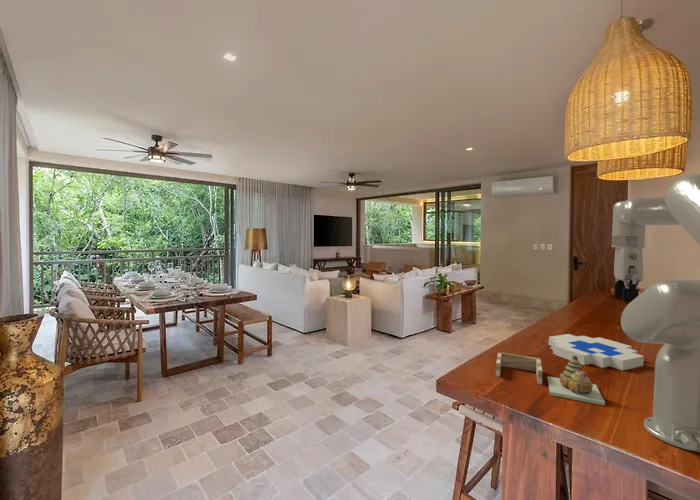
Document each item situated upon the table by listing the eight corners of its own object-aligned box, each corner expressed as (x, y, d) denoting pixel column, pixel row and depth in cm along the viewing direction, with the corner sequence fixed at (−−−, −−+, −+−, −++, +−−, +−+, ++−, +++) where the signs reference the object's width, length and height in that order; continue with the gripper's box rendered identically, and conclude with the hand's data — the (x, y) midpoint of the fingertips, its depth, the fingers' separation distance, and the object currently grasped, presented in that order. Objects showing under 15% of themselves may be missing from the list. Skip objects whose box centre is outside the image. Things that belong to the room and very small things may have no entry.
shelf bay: (541, 384, 103) (542, 370, 103) (495, 376, 110) (496, 363, 109) (539, 371, 114) (540, 358, 114) (497, 363, 120) (498, 351, 120)
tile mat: (604, 405, 91) (604, 402, 91) (550, 395, 97) (550, 391, 97) (595, 387, 101) (595, 384, 101) (547, 379, 107) (547, 376, 107)
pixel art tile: (656, 353, 121) (608, 363, 111) (656, 363, 121) (607, 375, 112) (580, 331, 147) (535, 338, 137) (580, 340, 148) (535, 348, 138)
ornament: (596, 394, 95) (597, 360, 95) (579, 396, 94) (580, 362, 93) (572, 382, 103) (573, 351, 103) (556, 384, 102) (557, 352, 101)
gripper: (655, 243, 88) (652, 306, 89) (634, 242, 103) (632, 295, 104) (619, 243, 91) (617, 303, 92) (605, 241, 107) (603, 293, 107)
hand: (625, 299), depth 98 cm, fingers open, 9 cm apart
